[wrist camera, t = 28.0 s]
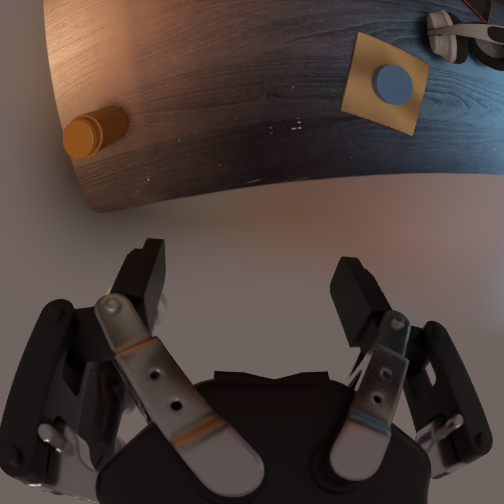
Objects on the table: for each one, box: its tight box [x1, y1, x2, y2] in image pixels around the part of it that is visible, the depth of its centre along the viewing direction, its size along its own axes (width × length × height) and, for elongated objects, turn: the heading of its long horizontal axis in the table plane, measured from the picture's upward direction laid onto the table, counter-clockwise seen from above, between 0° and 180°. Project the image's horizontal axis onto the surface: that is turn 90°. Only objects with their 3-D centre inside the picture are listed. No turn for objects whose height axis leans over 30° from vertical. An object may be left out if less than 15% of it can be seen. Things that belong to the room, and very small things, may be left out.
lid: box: [372, 65, 413, 105], centre depth 29 cm, size 6×6×2 cm
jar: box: [63, 106, 128, 158], centre depth 28 cm, size 5×5×9 cm
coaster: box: [339, 32, 430, 136], centre depth 30 cm, size 12×12×1 cm
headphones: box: [427, 10, 504, 71], centre depth 16 cm, size 19×8×20 cm, turn 106°
